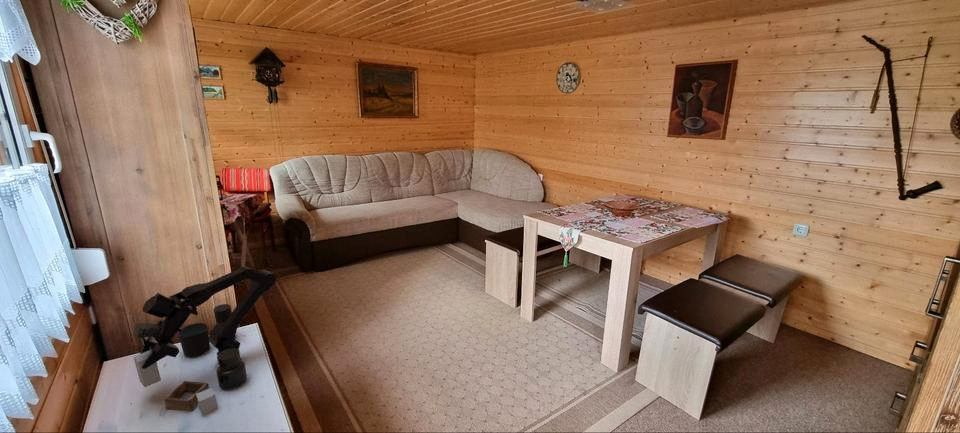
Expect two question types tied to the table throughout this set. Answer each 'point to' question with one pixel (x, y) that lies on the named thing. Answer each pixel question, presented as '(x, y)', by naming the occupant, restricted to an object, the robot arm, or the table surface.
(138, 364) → the light grey rectangular block
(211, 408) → the grey block
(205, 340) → the pen holder
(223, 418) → the table surface
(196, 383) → the walnut collar
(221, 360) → the ink bottle
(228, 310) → the deodorant
